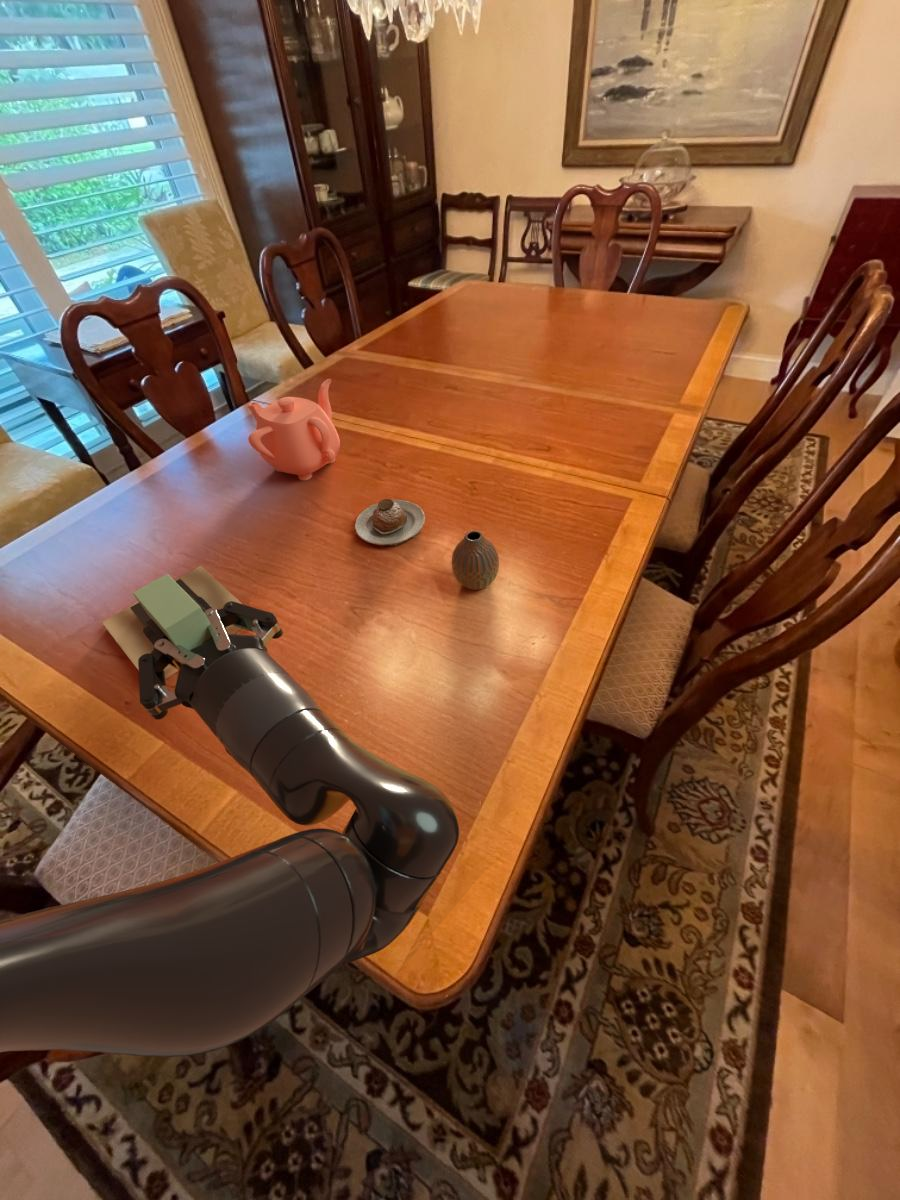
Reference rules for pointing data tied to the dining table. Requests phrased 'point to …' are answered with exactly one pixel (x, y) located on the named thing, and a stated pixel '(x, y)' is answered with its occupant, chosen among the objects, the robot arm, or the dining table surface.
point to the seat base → (135, 629)
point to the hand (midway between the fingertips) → (171, 614)
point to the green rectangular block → (174, 612)
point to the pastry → (390, 522)
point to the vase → (475, 561)
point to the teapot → (296, 434)
